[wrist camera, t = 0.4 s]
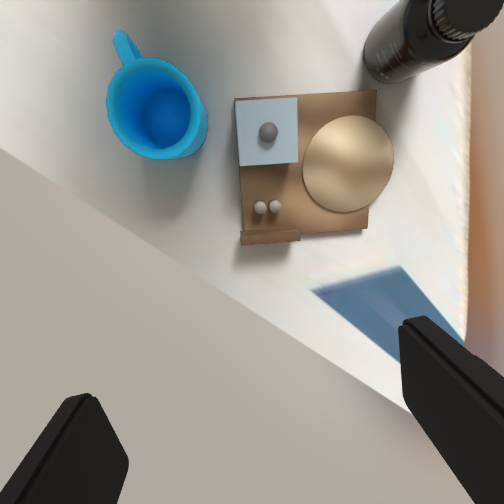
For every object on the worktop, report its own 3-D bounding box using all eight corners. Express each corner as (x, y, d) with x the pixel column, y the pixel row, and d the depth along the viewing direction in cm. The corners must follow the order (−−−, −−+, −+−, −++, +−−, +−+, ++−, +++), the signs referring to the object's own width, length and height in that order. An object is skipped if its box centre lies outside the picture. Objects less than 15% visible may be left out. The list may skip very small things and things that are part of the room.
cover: (235, 108, 32) (235, 99, 27) (289, 104, 32) (298, 95, 27) (239, 164, 34) (240, 166, 29) (290, 161, 34) (299, 162, 29)
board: (229, 100, 33) (229, 93, 29) (392, 91, 33) (414, 82, 29) (240, 236, 38) (241, 245, 34) (381, 225, 38) (398, 232, 35)
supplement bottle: (388, -1, 31) (480, -95, 19) (433, 40, 32) (544, -23, 21) (349, 61, 32) (412, 9, 21) (394, 98, 34) (475, 68, 22)
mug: (220, 139, 34) (217, 134, 26) (160, 170, 35) (140, 174, 27) (166, 29, 30) (144, -15, 23) (101, 67, 31) (57, 37, 23)
